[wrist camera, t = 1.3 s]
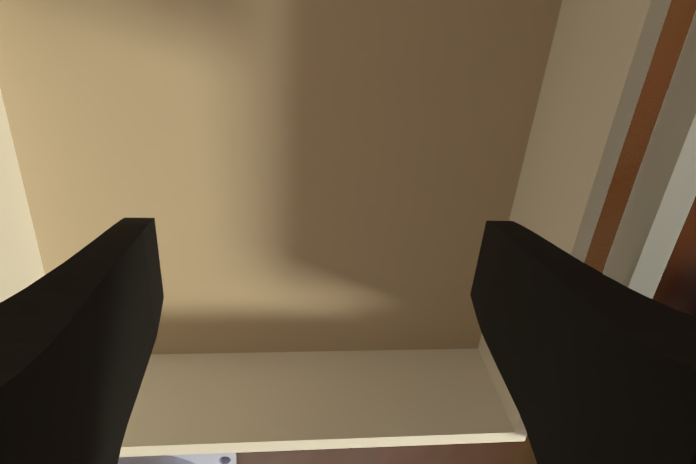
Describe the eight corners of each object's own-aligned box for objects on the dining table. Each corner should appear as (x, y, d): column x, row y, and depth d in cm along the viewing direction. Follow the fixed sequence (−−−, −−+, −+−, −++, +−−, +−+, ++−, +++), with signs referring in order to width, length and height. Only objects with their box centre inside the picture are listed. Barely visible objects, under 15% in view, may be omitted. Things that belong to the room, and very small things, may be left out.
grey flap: (541, 445, 21) (554, 450, 21) (518, 568, 17) (535, 576, 17) (789, -255, 11) (820, -254, 11) (879, -358, 7) (929, -360, 7)
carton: (483, 349, 25) (524, 441, 21) (57, 356, 23) (7, 461, 19) (623, -213, 15) (755, -255, 11) (-104, -296, 13) (-289, -386, 9)
